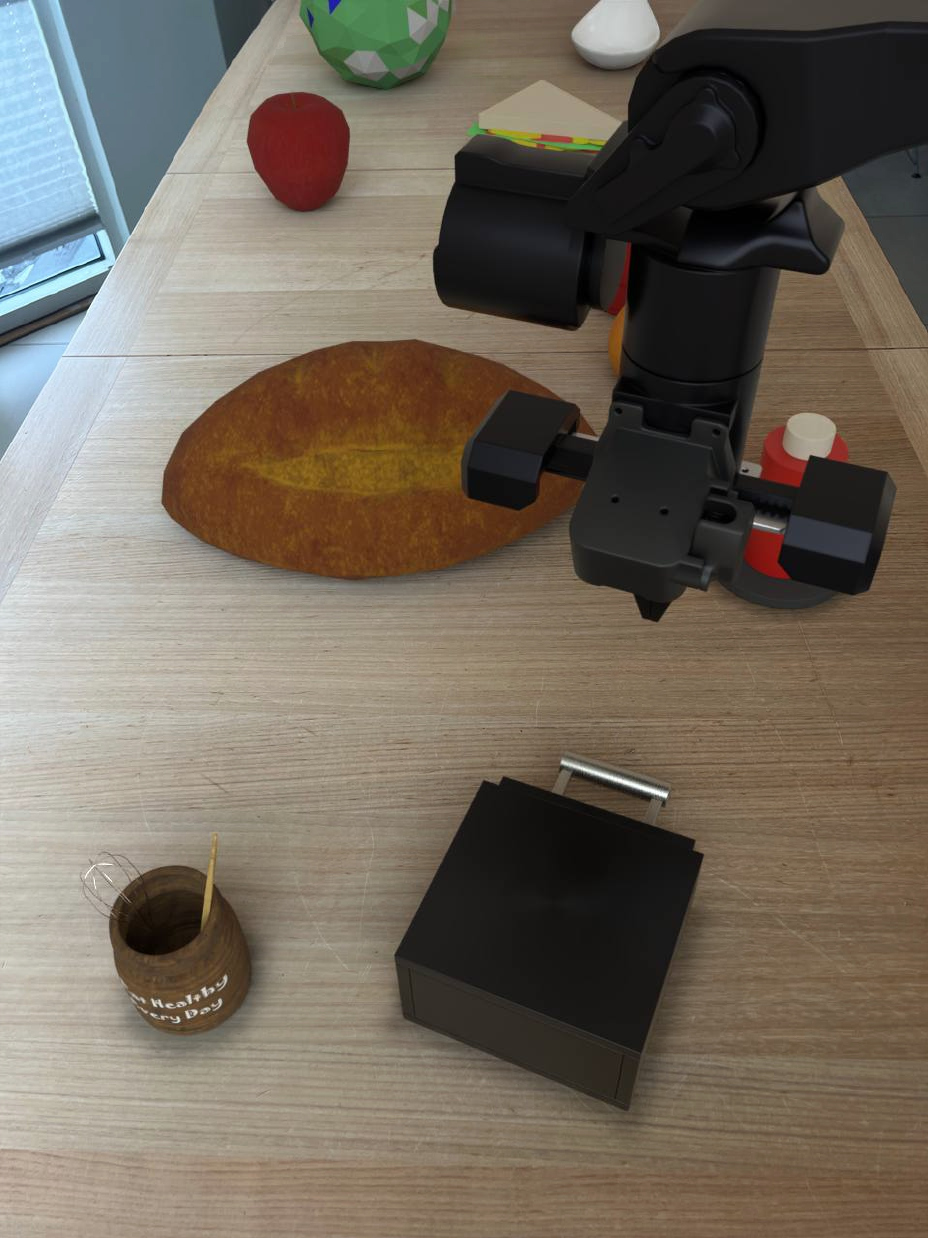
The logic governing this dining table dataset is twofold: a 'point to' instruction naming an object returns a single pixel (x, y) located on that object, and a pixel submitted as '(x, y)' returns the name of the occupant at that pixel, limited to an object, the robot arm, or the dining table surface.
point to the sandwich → (547, 121)
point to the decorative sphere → (378, 37)
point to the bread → (353, 463)
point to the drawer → (610, 779)
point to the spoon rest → (616, 34)
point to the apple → (299, 148)
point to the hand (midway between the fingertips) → (652, 615)
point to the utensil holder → (178, 947)
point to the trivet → (775, 590)
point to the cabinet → (549, 941)
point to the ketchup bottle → (791, 475)
